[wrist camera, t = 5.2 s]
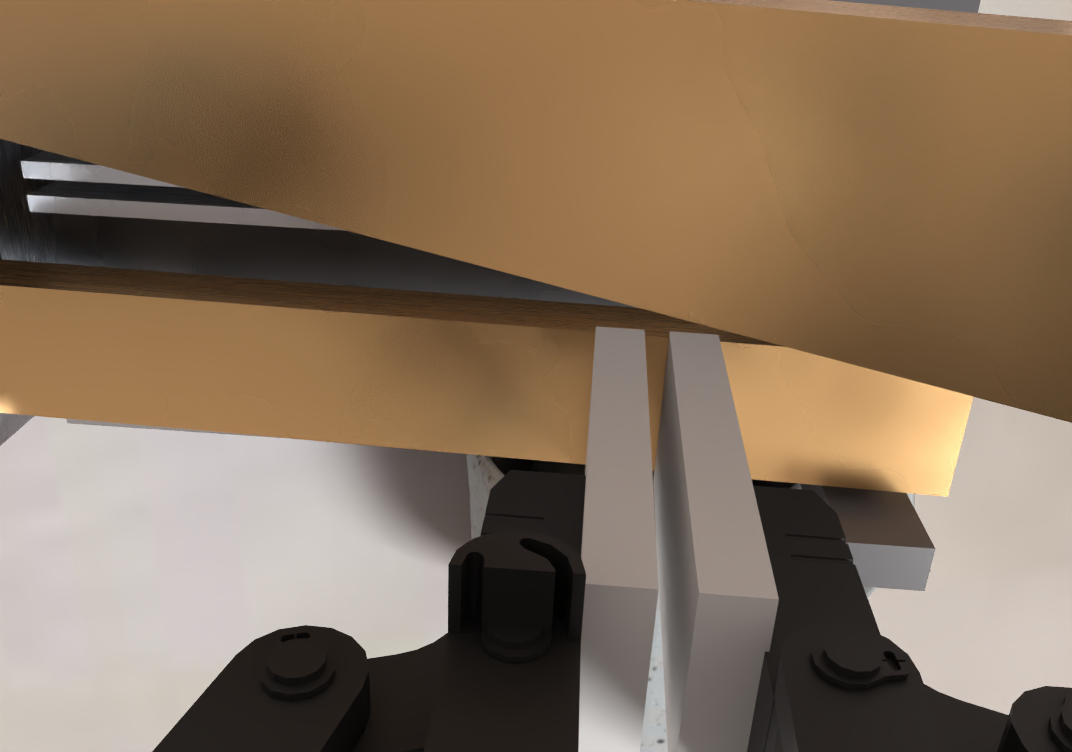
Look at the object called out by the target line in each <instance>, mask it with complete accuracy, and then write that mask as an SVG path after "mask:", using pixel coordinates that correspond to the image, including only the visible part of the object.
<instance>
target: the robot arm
mask: <svg viewBox="0 0 1072 752" xmlns="http://www.w3.org/2000/svg"><path fill="white" fill-rule="evenodd" d="M653 487H654V493H653ZM654 505H655V511H654ZM655 524H656V529H655ZM656 542H657V548H656ZM657 561H658V566H657ZM658 579H659V584H658ZM658 592H659V598H660V616H661V635H662V653H663V671H664V690H665V708H666V727H667V745H668V752H1072V688H1065V687H1051V686H1045V687H1041V688H1037V689H1033V690H1029V691H1025V692H1024V693H1023V694H1022V695H1021V696H1020V697H1019V698H1018V699H1017V700H1016V701H1015V702H1014V703H1013V704H1012V707H1011V710H1010V713H1009V715H1006V714H1003V713H999V712H996V711H993V710H990V709H986V708H983V707H980V706H977V705H974V704H970V703H967V702H964V701H961V700H958V699H955V698H953V697H950V696H948V695H945V694H942V693H940V692H938V691H936V690H934V689H932V688H930V687H929V686H927V685H925V684H923V681H922V678H921V676H920V673H919V671H918V670H917V668H916V666H915V665H914V663H913V662H912V660H911V659H910V657H909V655H908V654H907V653H905V652H904V651H903V650H902V649H900V648H899V647H898V646H897V645H896V644H894V643H893V642H892V641H891V640H889V639H888V638H886V637H883V636H881V635H880V632H879V629H878V626H877V624H876V621H875V618H874V615H873V613H872V610H871V607H870V604H869V601H868V599H867V596H866V593H865V590H864V587H863V585H862V582H861V579H860V576H859V573H858V571H857V568H856V565H853V557H852V554H851V551H850V548H849V545H848V544H846V537H845V534H844V531H843V529H842V526H841V523H840V520H839V517H838V515H837V513H836V512H835V511H834V510H833V509H832V508H831V507H830V506H829V505H828V504H827V503H826V502H825V501H824V500H823V499H822V498H821V497H819V496H818V495H817V494H816V493H815V492H814V491H813V490H802V489H790V488H777V487H764V486H753V484H752V479H751V475H750V471H749V466H748V462H747V457H746V453H745V449H744V444H743V440H742V435H741V431H740V427H739V422H738V418H737V414H736V409H735V405H734V400H733V396H732V392H731V387H730V383H729V378H728V374H727V370H726V365H725V361H724V357H723V352H722V348H721V343H720V339H719V335H713V334H699V333H684V332H669V341H668V351H667V360H666V369H665V378H664V387H663V397H662V406H661V415H660V424H659V434H658V443H657V452H656V461H655V470H654V480H653V475H652V457H651V439H650V420H649V402H648V384H647V366H646V348H645V330H640V329H626V328H612V327H597V326H596V332H595V345H594V359H593V372H592V386H591V399H590V413H589V426H588V440H587V453H586V467H585V475H572V474H559V473H546V472H533V471H520V470H510V471H509V472H508V473H507V474H506V475H505V476H504V477H503V478H502V479H501V480H500V481H499V482H498V483H497V484H496V485H494V486H493V487H492V488H491V490H490V494H489V498H488V503H487V507H486V512H485V518H484V520H483V525H482V529H481V536H480V537H476V538H474V539H472V540H471V541H469V542H468V543H466V544H465V545H463V546H462V547H460V548H459V549H457V551H456V553H455V554H454V556H453V558H452V559H451V561H450V563H449V580H448V633H447V634H445V635H444V636H443V637H441V638H440V639H438V640H437V641H435V642H434V643H431V644H429V645H427V646H424V647H422V648H420V649H417V650H414V651H410V652H405V653H401V654H397V655H390V656H383V657H377V658H370V659H367V657H366V652H365V650H364V649H363V648H362V647H361V646H360V645H359V644H358V643H357V642H356V641H355V640H354V639H353V638H352V637H351V636H349V635H346V634H344V633H342V632H339V631H337V630H335V629H332V628H326V627H317V626H307V625H305V626H299V627H292V628H286V629H279V630H277V631H274V632H272V633H270V634H267V635H265V636H263V637H260V638H258V639H255V640H254V641H253V642H251V643H250V644H249V645H248V646H247V647H245V648H244V649H243V650H242V651H240V652H239V653H238V654H237V655H236V656H235V657H234V658H233V659H232V660H231V661H230V663H229V664H228V665H227V666H226V667H225V668H224V669H223V671H222V672H221V673H220V674H219V675H218V676H217V678H216V679H215V680H214V681H213V682H212V683H211V684H210V686H209V687H208V688H207V689H206V690H205V691H204V693H203V694H202V695H201V696H200V697H199V698H198V700H197V701H196V702H195V703H194V704H193V705H192V706H191V708H190V709H189V710H188V711H187V712H186V713H185V715H184V716H183V717H182V718H181V719H180V720H179V721H178V723H177V724H176V725H175V726H174V727H173V728H172V730H171V731H170V732H169V733H168V734H167V735H166V737H165V738H164V739H163V740H162V741H161V742H160V743H159V745H158V746H157V747H156V748H155V749H154V750H153V752H640V745H641V737H642V728H643V720H644V711H645V703H646V694H647V686H648V677H649V669H650V660H651V652H652V643H653V635H654V626H655V618H656V609H657V601H658Z"/></svg>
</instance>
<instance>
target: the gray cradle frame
mask: <svg viewBox="0 0 1072 752" xmlns="http://www.w3.org/2000/svg"><path fill="white" fill-rule="evenodd" d="M0 259H6V260H19V261H32V262H45V263H58V264H71V265H84V266H97V267H110V268H123V269H137V270H150V271H163V272H176V273H189V274H202V275H215V276H228V277H241V278H254V279H267V280H281V281H294V282H307V283H320V284H333V285H346V286H359V287H372V288H385V289H398V290H411V291H425V292H438V293H451V294H464V295H477V296H490V297H503V298H516V299H529V300H542V301H555V302H569V303H582V304H595V305H608V306H621V307H634V306H630V305H626V304H622V303H619V302H615V301H611V300H607V299H603V298H600V297H596V296H592V295H588V294H585V293H581V292H577V291H573V290H569V289H566V288H562V287H558V286H554V285H551V284H547V283H543V282H539V281H535V280H532V279H528V278H524V277H520V276H517V275H513V274H509V273H505V272H502V271H498V270H494V269H490V268H486V267H483V266H479V265H475V264H471V263H468V262H464V261H460V260H456V259H452V258H449V257H445V256H441V255H437V254H434V253H430V252H426V251H422V250H418V249H415V248H411V247H407V246H403V245H400V244H396V243H392V242H388V241H385V240H381V239H377V238H373V237H369V236H366V235H362V234H358V233H354V232H351V231H347V230H343V229H339V228H335V227H332V226H328V225H324V224H320V223H317V222H313V221H309V220H305V219H301V218H298V217H294V216H290V215H286V214H283V213H279V212H275V211H271V210H267V209H264V208H260V207H256V206H252V205H249V204H245V203H241V202H237V201H234V200H230V199H226V198H222V197H218V196H215V195H211V194H207V193H203V192H200V191H196V190H192V189H188V188H184V187H181V186H177V185H173V184H169V183H166V182H162V181H158V180H154V179H150V178H147V177H143V176H139V175H135V174H132V173H128V172H124V171H120V170H117V169H113V168H109V167H105V166H101V165H98V164H94V163H90V162H86V161H83V160H79V159H75V158H71V157H67V156H64V155H60V154H56V153H52V152H49V151H45V150H41V149H37V148H33V147H30V146H26V145H22V144H18V143H15V142H11V141H7V140H3V139H0ZM634 308H637V307H634ZM32 417H33V416H32V415H21V414H10V413H0V445H2V444H3V443H4V442H5V441H6V440H7V439H8V438H10V437H11V436H12V435H13V434H14V433H15V432H16V431H18V430H19V429H20V428H21V427H22V426H23V425H24V424H25V423H27V422H28V421H29V420H30V419H31V418H32ZM67 423H73V424H88V425H102V426H117V427H131V428H146V429H161V430H175V431H190V432H204V433H219V434H234V435H247V434H235V433H224V432H213V431H202V430H190V429H179V428H168V427H156V426H145V425H134V424H123V423H111V422H100V421H89V420H77V419H67ZM248 436H258V435H248ZM263 437H269V436H263ZM277 438H281V437H277Z"/></svg>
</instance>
